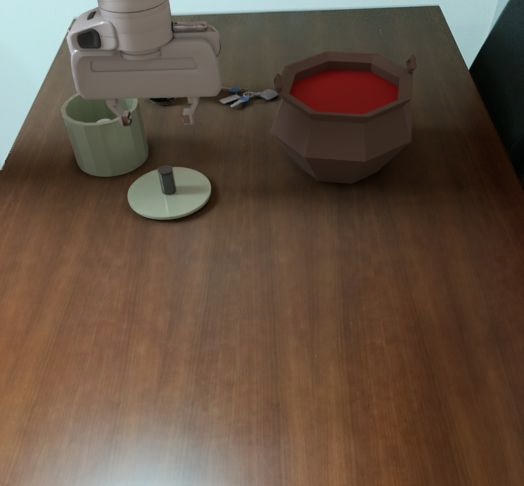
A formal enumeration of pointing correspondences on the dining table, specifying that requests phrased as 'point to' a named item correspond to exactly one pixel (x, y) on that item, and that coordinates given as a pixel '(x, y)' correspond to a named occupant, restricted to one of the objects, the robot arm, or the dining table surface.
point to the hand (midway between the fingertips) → (158, 123)
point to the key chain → (265, 94)
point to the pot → (105, 136)
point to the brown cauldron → (344, 113)
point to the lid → (169, 193)
